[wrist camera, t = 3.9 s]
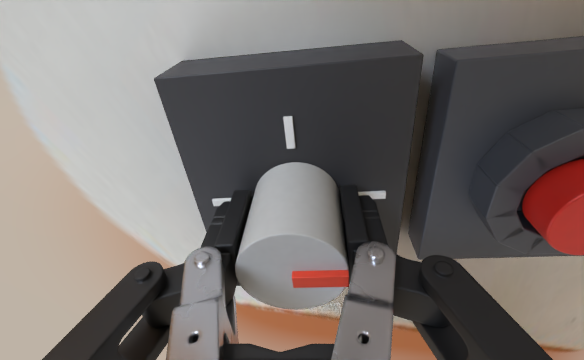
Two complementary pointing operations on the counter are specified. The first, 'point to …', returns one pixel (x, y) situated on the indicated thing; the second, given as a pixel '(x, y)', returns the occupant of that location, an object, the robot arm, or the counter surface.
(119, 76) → the counter surface
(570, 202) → the power button
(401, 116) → the panel
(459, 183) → the power block
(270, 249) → the timer knob
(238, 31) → the counter surface
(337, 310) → the counter surface
